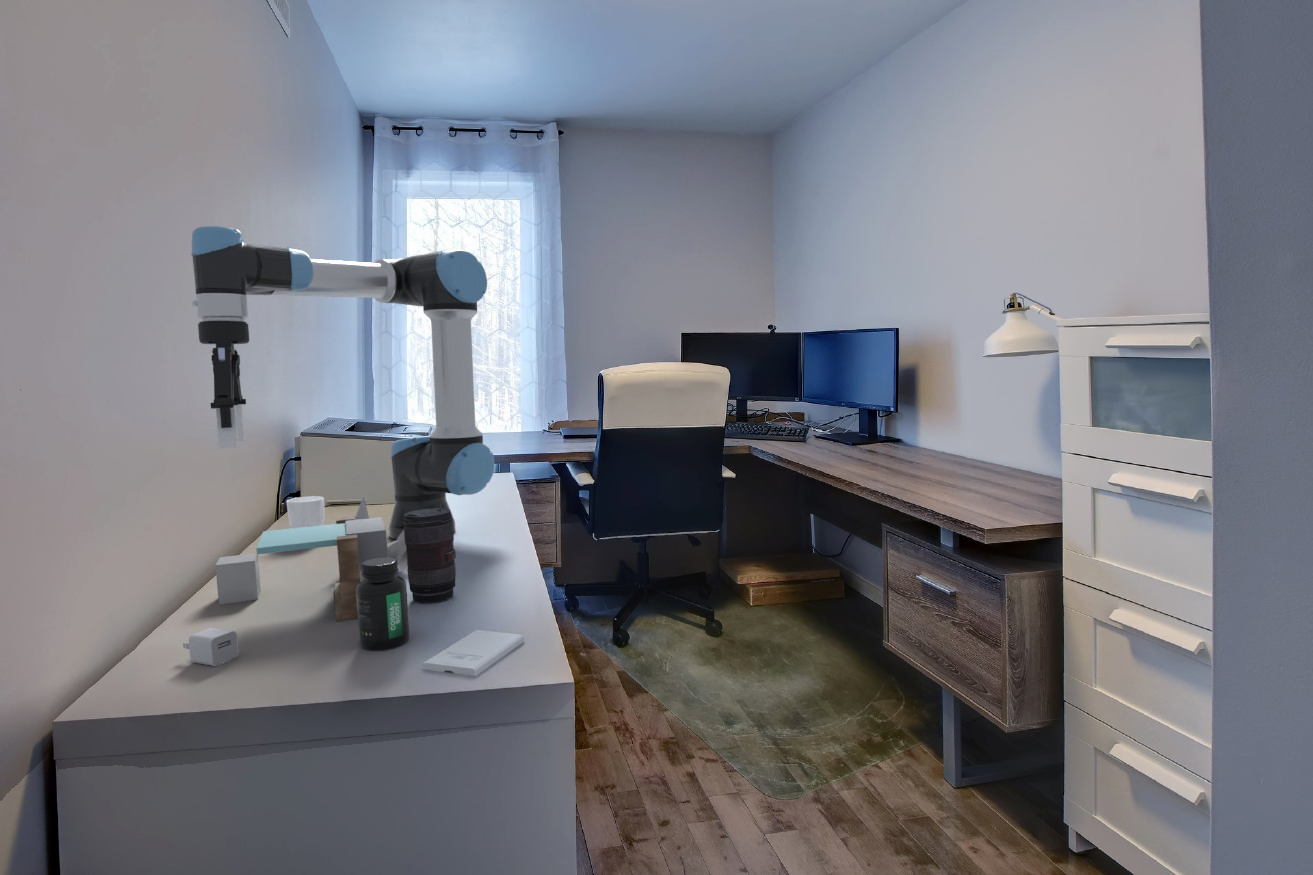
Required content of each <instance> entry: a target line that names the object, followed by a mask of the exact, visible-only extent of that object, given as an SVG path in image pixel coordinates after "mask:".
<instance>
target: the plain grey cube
mask: <svg viewBox="0 0 1313 875" xmlns="http://www.w3.org/2000/svg"><path fill="white" fill-rule="evenodd" d="M259 563H260V562H259V554H258V555H257V552H256V553H255V552H254V553H248V554H247V553H245V554H237V555H229V556H228V555H227V556H220V557H218V560H217V561H216V563H215V576H216V586H217V587H216V588H217V598H218V599H217V600H218V605H219V606H220V605H226V604H227V605H228V604H235V603H241V602H242V603H243V602H248V601H249V602H251V601H257V600H259V598H260V595H261V592H262V590H261V588H262V587H261V576H260V575H261V574H260V564H259Z"/></svg>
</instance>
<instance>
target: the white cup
mask: <svg viewBox="0 0 1313 875" xmlns="http://www.w3.org/2000/svg"><path fill="white" fill-rule="evenodd" d="M286 507H287V508H286V509H287V515H288V522H289V523H288V524H289V529H291V528H301V527H311V526H321V525H325V497H323V496H319V495H318V496H317V495H311V496H310V495H309V496H308V495H307V496H301V497H300V496H299V497H294V498H290V499H287V500H286Z"/></svg>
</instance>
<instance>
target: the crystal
mask: <svg viewBox="0 0 1313 875" xmlns="http://www.w3.org/2000/svg"><path fill="white" fill-rule="evenodd" d="M369 516H370V515H369V512H368V508H367V502H366V498H365V497H364V496H363V497H362V499H361V502H360V504H359V506H358V509H357V511H356V514H355V516H354V520H359V519H369V518H370V517H369ZM390 541H391V540H390V539H388V541H387V553H388V558H395V559H397V563H398V564H399V562H400V561H401V559H402V558H403V556H404V554H405V553H406V552H407V549H406V545H405V537H404V530H403V531H402V533H401V534H400V535H399V536H398V538H397V539H396V540H394V541H391V542H390ZM359 568H360V580H362V579H361V578H364V577H362V563H359ZM400 569H401V568H400V566H399V565H398V571H399V570H400ZM400 571H401V570H400Z"/></svg>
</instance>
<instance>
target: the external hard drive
mask: <svg viewBox="0 0 1313 875" xmlns="http://www.w3.org/2000/svg"><path fill="white" fill-rule="evenodd" d="M524 637H525V636H524V635H523V634H518V633H511V632H509V633H508V632H500V631H492V630H482V629H476V630H474V631H472V632H470V633H469V634H467V635H465V636H464V637H463V638H461V639H459V640H458V641H456V642H455V643H453V644H452V645H449V646H448V647H447V648H444V649H443V650H442V651H439V653H437V654H436V655H434V656H432V657H431V658H429V659H427V660H426V661H424V662H422V670H426V671H434V672H440V673H453V674H456V675H457V674H458V675H464V676H471V677H477V676H478V675H479V674H481V673H482V672H484V671H485V670H486V669H487V668H489V667H491V666H492V665H493V664H494V665H495V663H496V662H498V661H499V660H501V659H503V657H505V656H506V655H507V654H509V653H510V652H512V651H513V650H515V649H516V648H518V647H519V646H520V645H522V644H524V643H525V639H524Z"/></svg>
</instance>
